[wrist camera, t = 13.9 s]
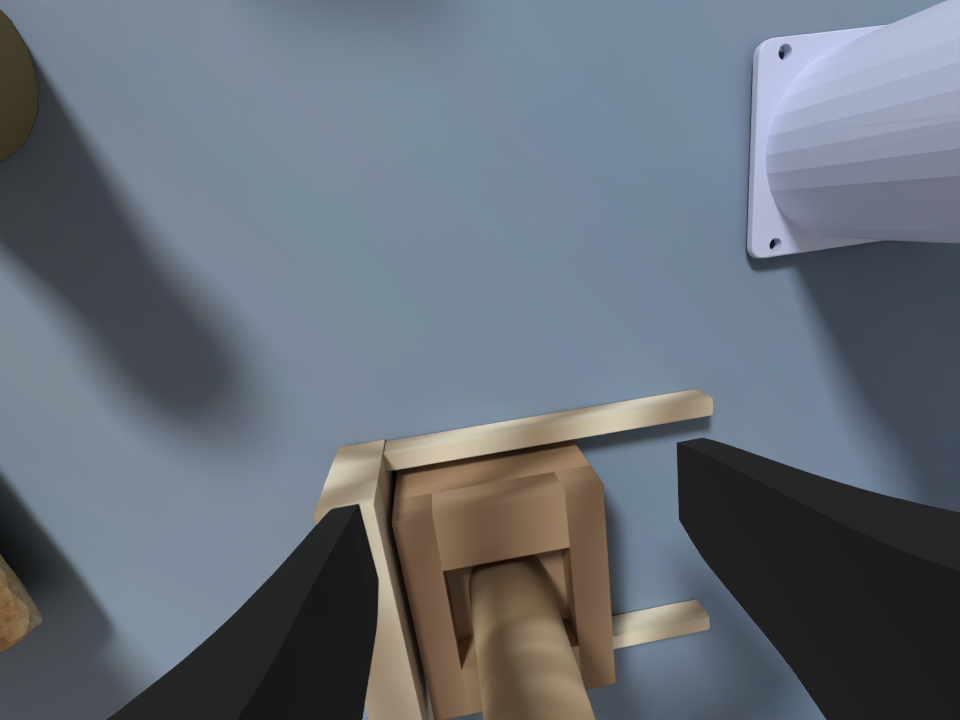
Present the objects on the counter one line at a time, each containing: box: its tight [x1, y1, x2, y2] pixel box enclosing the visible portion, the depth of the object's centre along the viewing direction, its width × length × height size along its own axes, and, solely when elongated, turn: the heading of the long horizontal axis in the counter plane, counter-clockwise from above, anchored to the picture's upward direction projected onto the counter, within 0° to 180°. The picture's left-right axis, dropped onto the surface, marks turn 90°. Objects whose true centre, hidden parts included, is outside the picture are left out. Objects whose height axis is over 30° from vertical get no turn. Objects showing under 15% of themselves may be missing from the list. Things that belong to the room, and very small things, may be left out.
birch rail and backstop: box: [313, 389, 713, 720], centre depth 21 cm, size 16×13×5 cm
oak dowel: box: [468, 554, 596, 720], centre depth 17 cm, size 3×3×7 cm
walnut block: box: [392, 439, 616, 720], centre depth 21 cm, size 8×10×4 cm
